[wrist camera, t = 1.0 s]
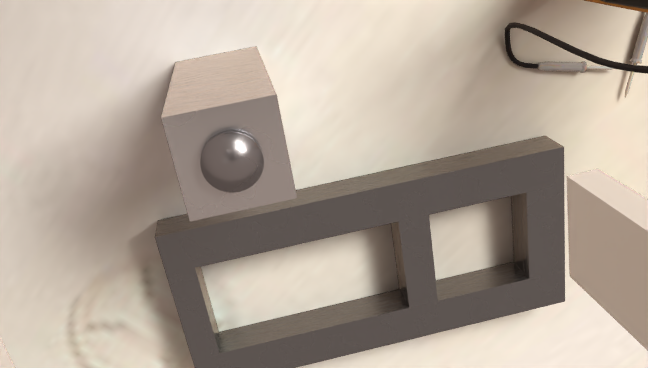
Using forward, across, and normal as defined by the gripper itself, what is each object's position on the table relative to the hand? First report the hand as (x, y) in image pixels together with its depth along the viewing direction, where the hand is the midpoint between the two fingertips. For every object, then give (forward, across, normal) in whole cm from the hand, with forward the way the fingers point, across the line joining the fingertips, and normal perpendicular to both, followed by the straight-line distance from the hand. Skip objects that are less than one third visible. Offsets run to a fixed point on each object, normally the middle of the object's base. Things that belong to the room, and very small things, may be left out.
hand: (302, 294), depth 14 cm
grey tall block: (+19, -1, 0) cm, 19 cm away
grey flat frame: (+19, +4, -11) cm, 22 cm away
